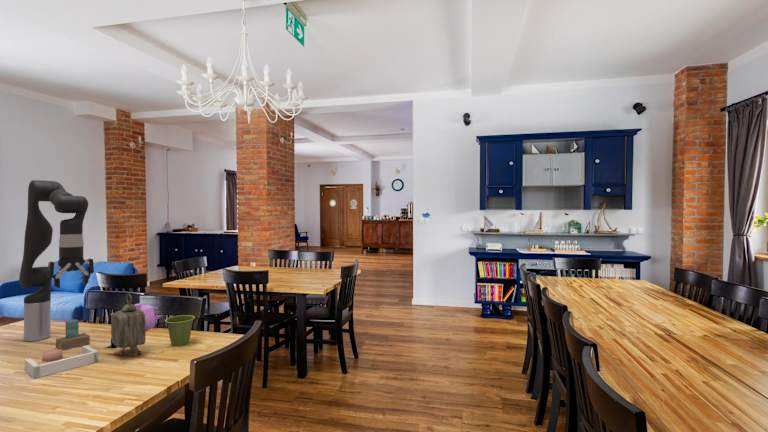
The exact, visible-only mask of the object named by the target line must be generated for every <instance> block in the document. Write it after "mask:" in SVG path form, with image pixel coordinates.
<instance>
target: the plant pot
mask: <svg viewBox="0 0 768 432" xmlns="http://www.w3.org/2000/svg"><path fill="white" fill-rule="evenodd" d="M195 318H196V316H194V315H191V314H186V315H185V314H182V315H175V316H170V317H168V318H166V319H165V320H164V321H165V323H166V326H167V328H168V329H167V330H168V335H169V339H170V344H171V346H173V347H174V346H181V347H182V346H183V345H184V346H185V345H187V344H188V343H190V339H191V333H192V327H193V324H194V320H195Z"/></svg>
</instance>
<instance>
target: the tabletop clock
mask: <svg viewBox="0 0 768 432" xmlns="http://www.w3.org/2000/svg"><path fill="white" fill-rule="evenodd" d="M128 296H129V298H130V299H129V300H128ZM125 298H126V302H127V304H125V305H124V306H123V307H122V309H121V310H117V311H115V312H113V313H114V314H112V313H111V314H112V316H111V320H110V321H111V324H110V325H111V326H110V327H111V328H110V331H111V335H110V337H111V338H112V343H113V344H114V345H115V346H116V347H118V348H119V349H121V351H120V352H119V354H120V356H123V355H125V354H126V353H125V349H128V348H129V349H131V350H132V349H135V350H136V355H137V356H140V355H141V354H142V353H143V352H142V351H141V350H139V348H138V346H141V345H145V344H146V333H147V332H146V330H147V329H146V324H145V313H144V312H143V311H142V310H141V309H139V308H136V306H135V304H133V303H132V301H133V297H132V295H131V293H128V292H127V293H126V297H125ZM118 348H117V349H118Z"/></svg>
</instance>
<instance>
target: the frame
mask: <svg viewBox="0 0 768 432" xmlns="http://www.w3.org/2000/svg"><path fill="white" fill-rule="evenodd" d="M81 347H82V348H81V349H82V350H81V353H82V354H78V355H75V356H71V357H66V358H63V359H62V358H61V359H59V360H56V361H51V362H44V363H41V364H38V363H37V362H36V361H35V360H33V359H31V357H30V358H26V359H24V371H25V372H26V373H28V375H30V376H31V378H33V379H38V378H42V377H45V376H49V375H53V374H57V373H62V372H65V371H68V370H73V369H76V368H80V367H83V366H87V365H91V364H95V363H99V361H100V360H99V355H100V353H99V351H98V350H96V349H95V348H92V347H91V346H89V345H85V346H81Z"/></svg>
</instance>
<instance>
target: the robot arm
mask: <svg viewBox="0 0 768 432" xmlns="http://www.w3.org/2000/svg"><path fill="white" fill-rule="evenodd" d="M40 202H49V203H51V205H53V206H54V210H55V211H56V212H57V213H60V214H75V215H74V216H73V217H72V218H67V219H62V220H60V223H59V238H58V244H59V245H58V261H48V263H47V266H35V267H34V264H35V262H36V261H37V259H38V258H39V257H40V256H41V255H42V254H43V253H44V252H45V251H47V249H48V247H50V245H51V243H52V239H53V231H54V230H53V226H52V225H51V223H50V222H49V220H48V219H47V218H46V216H45V215H44V214H43V213H42V211H41V209H40V205H39V203H40ZM88 207H89V201H88V199H87V198H86V197H85V196H82V195H73V194H72V193H70V192H68V191H66V189H65V188H64V186H63V185H62V184H61V183H60V182H58V181H55V180H54V181H53V180H41V179H40V180H39V179H34V180H31V181H30V182H29V184H28V187H27V216H26V224H25V230H24V238H23V239H24V242H23V253H22V254H23V255H22V261H21V267H20V271H19V276H18V277H19V278H18V282H19V285H20V286H19V287H21V288H22V289H31V288H32V289H34V288H39V289H38V290H36V291H34V292H33V293H30V294H27V295H26V296H24V298H23V341H24V342H35V341H41V340H42V341H43V340H46V339H48V338H50V337H51V333H52V332H51V331H52V330H51V329H52V328H51V327H52V326H51V324H52V323H51V316H52V315H51V314H52V313H51V312H52V311H51V308H52V306H51V301H52V300H51V295H52V281H53V286H54V287H55V288H56V289H60V288H61V278H60V277H61V276H62V275H63V274H64V273H65V272H77V271H79V272H80V273H81V274H82V285H83V286H86V285H87V284H88V283H89V275H91V274H94V272H95V268H94V259H92V258H87V259H84V246H85V243H84V236H83V227H84V226H83V225H84V219H85V216H86V213H87V211H88ZM84 264H86V265H87V270H86V269H85V268H84V267H83V265H84ZM57 266H58V267H59V268H58V269H57V271H56V272H55V271H54V270H55V268H56V267H57ZM54 272H55V273H54ZM52 279H53V280H52Z"/></svg>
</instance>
